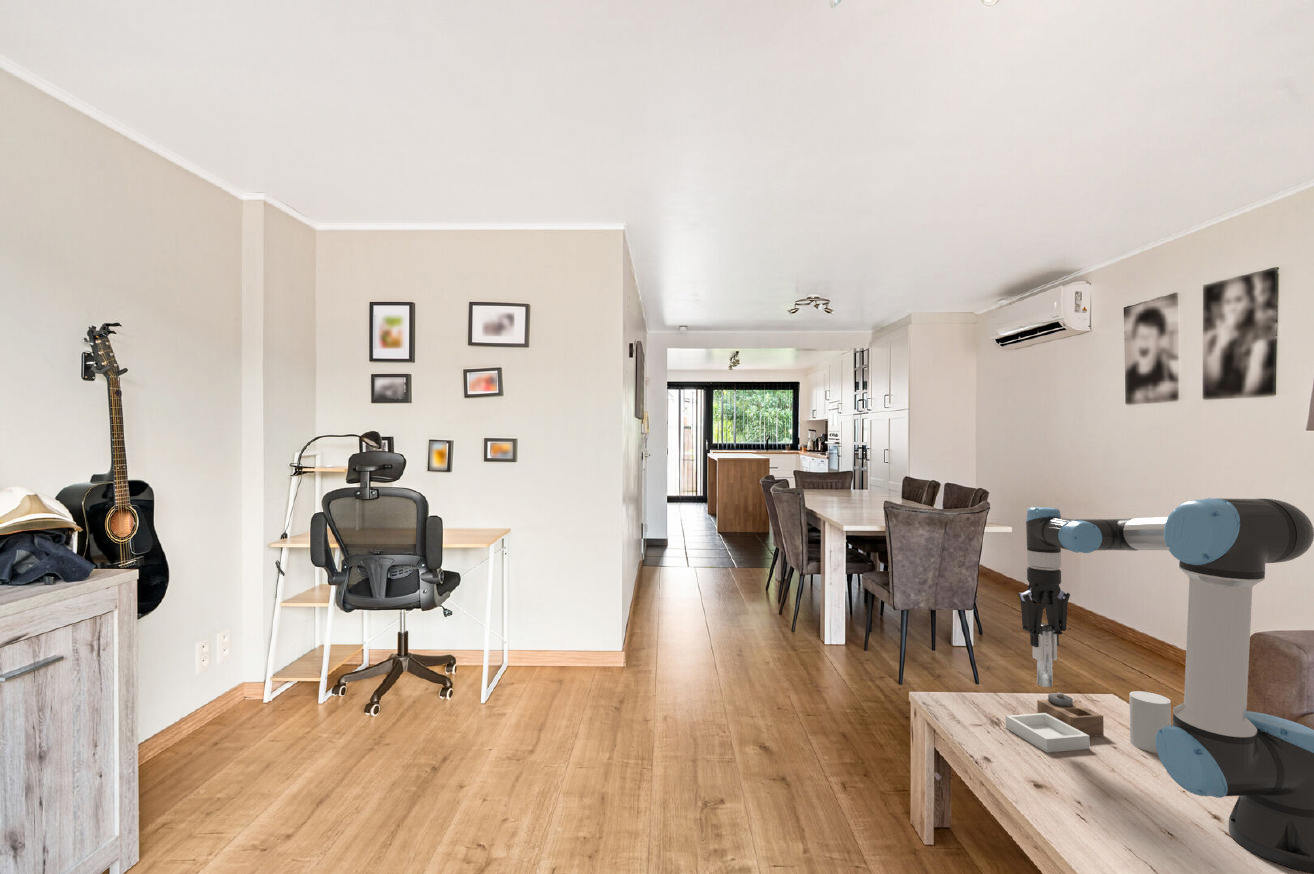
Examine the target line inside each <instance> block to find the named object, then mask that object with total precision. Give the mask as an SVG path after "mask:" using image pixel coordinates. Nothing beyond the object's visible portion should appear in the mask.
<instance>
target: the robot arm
mask: <svg viewBox="0 0 1314 874" xmlns="http://www.w3.org/2000/svg"><path fill="white" fill-rule="evenodd" d="M1025 525H1026V531H1025V532H1026V564H1027V568H1026V580H1027V582H1028V586H1027V589H1026V591H1024V592H1018V594H1017V595H1018V598H1019V600H1020V601H1019V602H1020V610H1021V625H1022V630H1023V631H1026V632H1028V633H1029V634H1030V639H1029V640H1030V646H1032V647H1031V648H1032V651H1031V653H1032V658H1033V659H1035V660H1036V661H1037V660H1039V661H1043V635H1041V634H1040V629H1041V623H1043V621H1042V620H1043V613H1044V609H1045V612H1046V621H1047V624H1049V625H1052V661H1058V646H1059V644H1060V643H1059V642H1060V640H1059V639H1060V637H1059V635H1060V636H1061V635H1063V634H1064V633H1063V632H1066V631H1067V624H1068V622H1067V621H1068V619H1067V618H1068V603H1069V599H1070V596H1071V594H1070V593H1069V592H1067V591H1063V590H1061V587H1060V584H1062V570H1061V569H1060V568H1062V550H1067V551H1070V552H1073V553H1082V554H1090V553H1093V552H1094V551H1128V552H1129V551H1134V552H1135V551H1168V552H1170V555H1172V556H1173V557H1174V558H1176V560H1178V561H1179V565H1178V566H1179V567H1178V568H1179V569H1180V571H1182V572H1183V573H1184V574H1185V575H1186V576H1187V578H1188V580H1189V581H1188V598H1187V599H1188V600H1187V601H1188V603H1187V604H1188V605H1187V621H1186V623H1187V625H1186V627H1187V628H1186V644H1185V645H1186V649H1185V671H1184V691H1183V692H1184V694H1183V695H1184V696H1183V702H1182V703H1180V704H1178V705H1175V706H1174V707H1173V710H1172V723H1171V726H1170V725H1166V726H1164V727H1162V729H1160V730H1158V732H1157V734H1156V738H1155V744H1156V750H1157V753H1156V754H1157V755H1158V759H1159V762H1160V763H1161V765H1162V767H1164V769H1165V770H1166V773H1167V774H1168V775H1169V776H1170V778H1171V779H1172V780H1173V781H1174V782H1175V783H1176V784H1177V785H1178V786H1179V787H1181V788H1183V790H1186V791H1187V792H1189V793H1190V794H1193V795H1196V796H1200V797H1213V798H1217V799H1220V798H1224V797H1238V798H1237V799H1236V801H1235V804H1234V806H1233V808H1232V810H1231V812H1230V815H1229V817H1228V833H1229V835H1230V836H1231V838H1232V839H1233V840H1234V841H1236V842H1237V843H1238V844H1239V845H1241V847H1243V848H1245V849H1246V850H1248V851H1250V852H1251V853H1254V854H1255V855H1258V856H1260V857H1261V858H1264V859H1266V860H1268V861H1271V862H1274V863H1276V864H1279V865H1281V866H1285V867H1288V868H1291V869H1295V870H1299V871H1302V872H1308V873H1312V874H1313V873H1314V729H1312V728H1310V727H1308V726H1306V725H1303V724H1302V723H1298V722H1296V721H1295V722H1294V721H1292V720H1290V719H1286V718H1282V717H1279V716H1276V715H1272V714H1266V713H1264V712H1263V713H1262V712H1256V711H1247V709H1248V708H1247V707H1248V687H1249V686H1248V685H1249V667H1250V666H1249V663H1250V645H1251V644H1250V643H1251V624H1252V622H1251V621H1252V605H1253V604H1252V603H1253V602H1252V601H1253V587H1254V586H1255V585H1258V584H1259V583H1261V582H1263V581H1264V580H1265V578H1266V564H1275V563H1286V562H1289V561H1293V560H1295V559H1297V558H1299V557H1302V556H1303V554H1305V553H1306V552H1307V551H1309V549H1310V548H1311V546H1312V544H1313V542H1314V526H1313V524H1312V521H1311V520H1310V518H1309V517H1308V515H1306V513H1305V512H1303V511H1302V510H1301V509H1299V508H1298V507H1296V506H1295V505H1292V504H1291V503H1288V502H1286V501H1283V500H1279V499H1278V500H1277V499H1273V498H1221V497H1220V498H1218V497H1215V498H1214V497H1213V498H1212V497H1208V498H1201V499H1191V500H1188V501H1185V502H1182V503H1181V504H1179V505H1178V506H1177V507H1175V508H1174V509H1173V510H1172V511H1171V512H1170V513H1169V515H1168V516H1155V517H1154V516H1153V517H1152V516H1151V517H1150V516H1149V517H1135V518H1134V517H1133V518H1112V519H1111V518H1109V519H1099V518H1098V519H1097V518H1093V519H1092V518H1091V519H1089V518H1085V519H1084V518H1082V519H1081V518H1080V519H1079V518H1078V519H1077V518H1076V519H1074V518H1067V517H1062V516H1061V511H1060V509H1059V508H1056V507H1049V506H1048V507H1045V506H1032V507H1031V506H1030V507H1028V509H1027V510H1026V521H1025Z"/></svg>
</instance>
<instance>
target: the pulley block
mask: <svg viewBox="0 0 1314 874" xmlns="http://www.w3.org/2000/svg"><path fill="white" fill-rule="evenodd" d="M1047 697H1048V698H1047V699H1037V702H1036V703H1037V705H1036V706H1037V707H1036V708H1037V710H1036V711H1037V713H1047V714H1049V715H1051V716H1053V717H1055V718H1056V719H1058V720H1060V721H1062V722H1064V723H1066V724H1068V725H1070V726H1072V727H1074V728H1076V729H1077V730H1079V731H1081V732H1083V733H1085V734H1087V735H1089V737H1098V736H1101V737H1102V736H1104V733H1105V732H1104V727H1105V726H1104V725H1105V724H1104V715H1102V714H1100V713H1099V712H1096V711H1094V710H1093V709H1090V708H1087V706H1083V705H1082V704H1079V703H1077V702H1075V701H1073V698H1072V696H1069V695H1066V694H1064V693H1063V692H1060V691H1059V692H1058V691H1057V692H1056V693H1054V692H1053V693H1049V694H1047Z"/></svg>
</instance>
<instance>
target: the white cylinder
mask: <svg viewBox="0 0 1314 874" xmlns="http://www.w3.org/2000/svg"><path fill="white" fill-rule="evenodd" d="M1128 698H1129V699H1128V700H1129V702H1128V703H1129V742H1130V744H1131V745H1132V746H1133V747H1136V748H1137V749H1140V750H1141V751H1146V752H1150V753H1152V754H1153V753H1155V754H1158V753H1157V750H1156V744H1155V738H1156V734H1157V732H1158V730H1160V729H1162V727H1164V726H1166V725H1170V726H1171V725H1172V709H1171V708H1172V707H1171V705H1172V703H1171V701H1172V700H1170V699H1169V698H1168V697H1166V696H1163V695H1161V694H1157V693H1153V692H1149V691H1142V690H1141V691H1140V690H1137V691H1130V692H1129V697H1128Z"/></svg>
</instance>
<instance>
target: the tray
mask: <svg viewBox="0 0 1314 874" xmlns="http://www.w3.org/2000/svg"><path fill="white" fill-rule="evenodd" d="M1005 729H1007V730H1009V731H1010V732H1011V733H1013V734H1015V735H1016V736H1018V737H1020V738H1022V739H1023V740H1025V741H1027V743H1028V742H1029V743H1030V744H1032V745H1033V746H1035V747H1037V748H1039V749H1040V750H1042V751H1043V752H1045V753H1057V752H1058V753H1059V752H1068V751H1079V750H1089V749H1090V746H1091V745H1090V736H1089V735H1087V734H1085V733H1083V732H1081V731H1079V730H1077V729H1076V728H1074V727H1072V726H1070V725H1068V724H1066V723H1064V722H1062V721H1060V720H1058V719H1056V718H1055V717H1053V716H1051V715H1049V714H1047V713H1024V714H1011V715H1005ZM1090 750H1091V749H1090Z"/></svg>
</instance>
